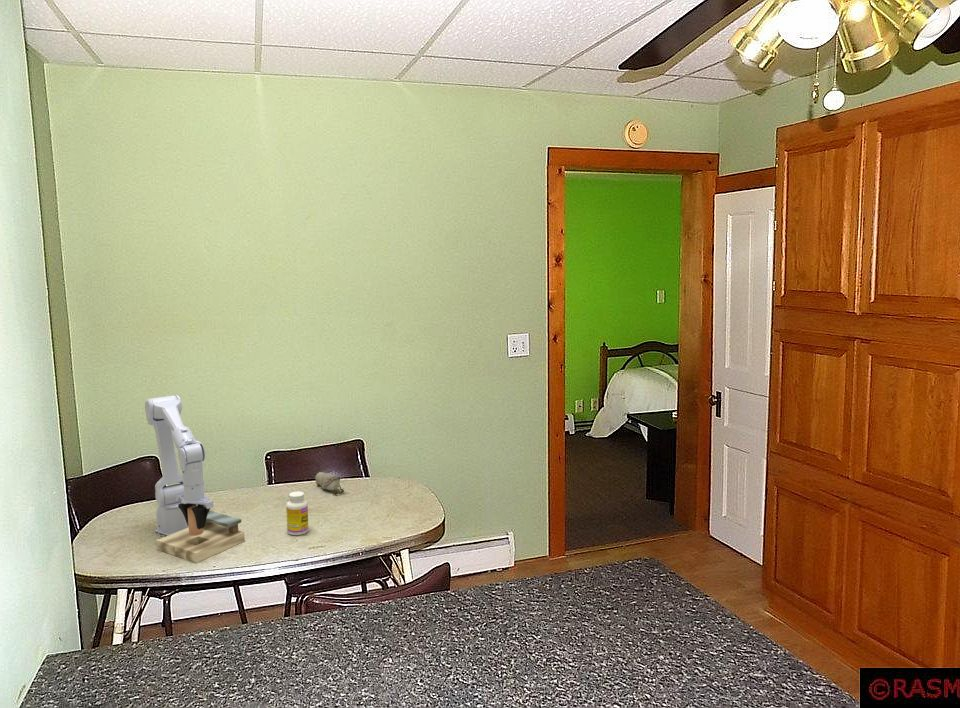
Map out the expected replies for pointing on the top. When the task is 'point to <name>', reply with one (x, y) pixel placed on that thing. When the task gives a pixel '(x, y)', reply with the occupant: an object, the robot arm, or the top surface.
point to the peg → (193, 523)
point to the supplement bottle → (297, 514)
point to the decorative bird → (328, 481)
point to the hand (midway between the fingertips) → (196, 526)
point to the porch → (204, 538)
